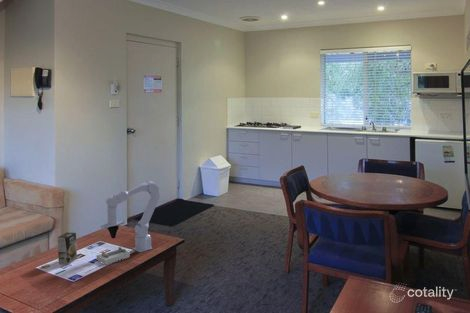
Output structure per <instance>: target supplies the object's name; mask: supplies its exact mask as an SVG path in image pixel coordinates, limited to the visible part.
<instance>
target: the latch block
mask: <svg viewBox="0 0 470 313" xmlns="http://www.w3.org/2000/svg"><path fill="white" fill-rule="evenodd" d="M119 249H123V252H120V253H117V254H114V255H111V256H109V255H108V254H107V253H110V252H113V251H116V250H119ZM104 253H106V254H107V255H106V257H104V256H103V254H104ZM130 254H131V253H130V251H128V250H126V249H125V248H122V247H118V248H117V249H113V250H110V251H107V252H101V253H100V254H97V255H96V261H97V260H98V261H97V262H99V261H100V262H99V263H101V262H102V263H101V264H103V263H104V264H103V265H105V264H108V265H110V264H109V263H111V264H113V263H112V262H114V263H116V262H119V261H122V260H124V259H125V260H126V259H128V258H130V257H131V255H130ZM121 259H122V260H121ZM118 260H119V261H118ZM115 261H116V262H115Z"/></svg>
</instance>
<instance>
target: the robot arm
mask: <svg viewBox="0 0 470 313" xmlns="http://www.w3.org/2000/svg"><path fill="white" fill-rule="evenodd" d="M141 192H145V193H147V192H148V194H149V196H150V198H149V200H148V202H147V205H146V207H145V209H144V212H143V215H142V217H141V218H140V220H138V223H137V224H136V225H135V226H134V230H133V231H134V232H135V235H134V238H135V239H134V240H135V241H134V242H135V247H134V248H132V250H134V251H136V252H138V253H143V252H146V251H148V250H152V249H153V247H152V237H151V234H149V233H148V232H149V230H148V229H149V228H150V227H149V223H150V221H151V218H152V216H153V214H154V211H155V209H156V208H157V204H158V202H159V200H160V188H159V186H158V184H157V183H156V182H154V181H153V180H146V181H145V182H142V183H140V184H138V185H137V186H135V187H132V188H131V189H129V190H128V191H127V190H121V191H120V192H119V193H116V194H113V195H112V196H111V195H110V196H108V197H107V199H106V201H105V203H106V205H107V209H106V210H107V223H105V224H103V225H100V229H101V230H105V229H107V231H108V232H109V234H110V238H111V239H116V236H117V233H118V230H119V229H120V226H119V225H125V221H124V220H119V219H118V217H119V216H118V207H117V206H118V205H119V204H121V203H123V202H125V201H128V200H129V198H130V197H131V196H134V195H136V194H138V193H141Z"/></svg>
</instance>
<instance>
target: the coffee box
mask: <svg viewBox="0 0 470 313" xmlns="http://www.w3.org/2000/svg"><path fill="white" fill-rule="evenodd" d="M77 247H78V246H77V232H64V233H63V234H61V235H59V236H57V254H58V256H57V257H58V264H60V265H70V264H71V263H72V262H74V261H75V260H77V259H78V252H77Z"/></svg>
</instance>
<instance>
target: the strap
mask: <svg viewBox="0 0 470 313" xmlns="http://www.w3.org/2000/svg"><path fill="white" fill-rule="evenodd" d="M118 249H119V248H118ZM123 249H124V248H121V249H119V250H116V249H115V250H116V251H113V250H112V251H113V252H110V253H107V254H108V255H109V256H111V255H114V254H117V253H120V252H123ZM107 254H106V252H104V254H103V256H104V257H106V255H107Z"/></svg>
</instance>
